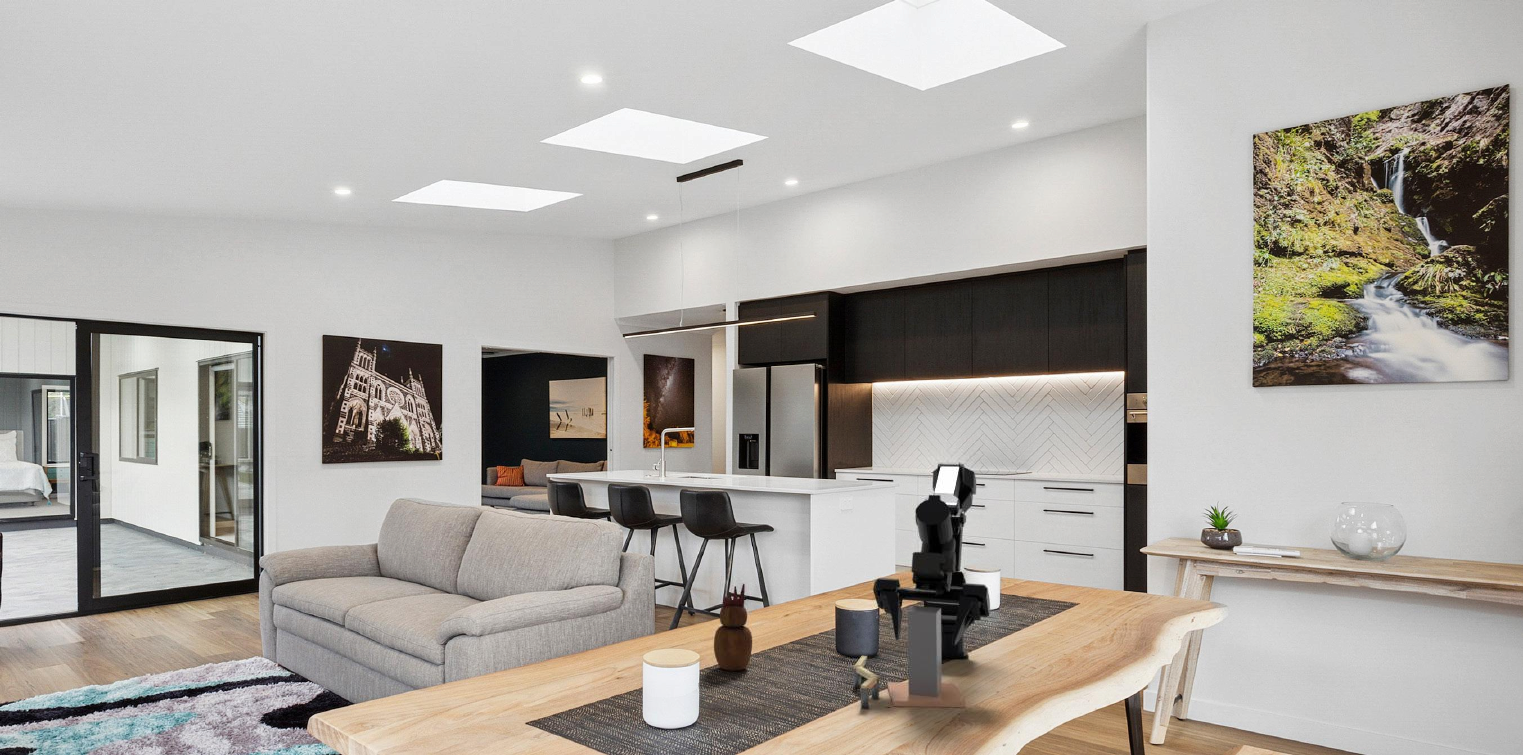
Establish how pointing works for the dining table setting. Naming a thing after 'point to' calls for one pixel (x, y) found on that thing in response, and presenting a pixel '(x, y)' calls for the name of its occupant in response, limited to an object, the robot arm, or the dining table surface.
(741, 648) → the wooden figurine
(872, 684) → the bent wire
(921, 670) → the gray pillar
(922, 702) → the terracotta tile
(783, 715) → the dining table surface
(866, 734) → the dining table surface
